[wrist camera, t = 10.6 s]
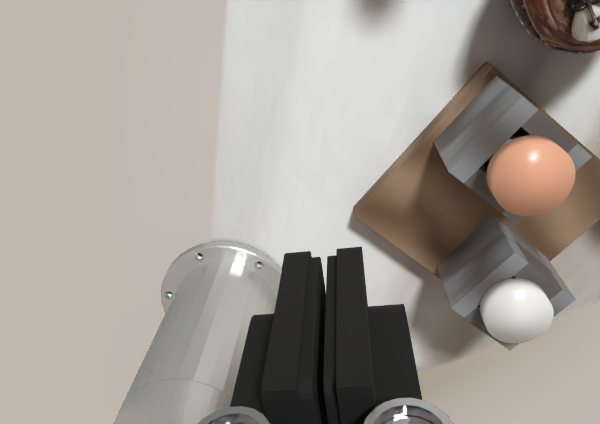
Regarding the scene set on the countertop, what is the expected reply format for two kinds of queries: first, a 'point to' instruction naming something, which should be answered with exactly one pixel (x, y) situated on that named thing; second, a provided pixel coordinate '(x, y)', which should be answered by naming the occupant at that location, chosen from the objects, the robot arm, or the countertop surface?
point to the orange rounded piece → (530, 175)
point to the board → (480, 199)
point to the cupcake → (561, 23)
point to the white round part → (516, 310)
